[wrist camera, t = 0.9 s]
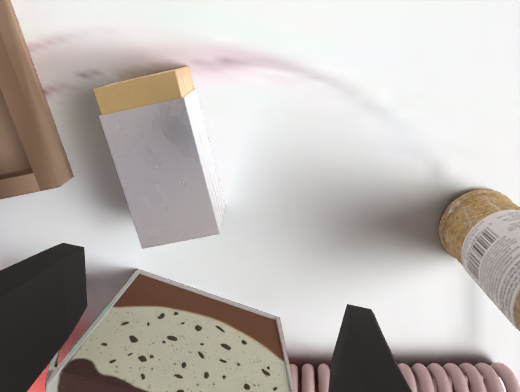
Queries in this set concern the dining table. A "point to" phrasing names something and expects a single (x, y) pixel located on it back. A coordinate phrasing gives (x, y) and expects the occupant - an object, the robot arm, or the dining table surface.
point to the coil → (427, 377)
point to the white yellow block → (162, 156)
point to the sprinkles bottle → (487, 245)
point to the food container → (174, 345)
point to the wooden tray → (25, 119)
